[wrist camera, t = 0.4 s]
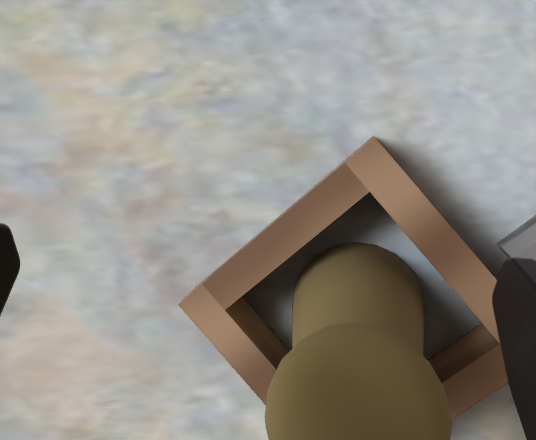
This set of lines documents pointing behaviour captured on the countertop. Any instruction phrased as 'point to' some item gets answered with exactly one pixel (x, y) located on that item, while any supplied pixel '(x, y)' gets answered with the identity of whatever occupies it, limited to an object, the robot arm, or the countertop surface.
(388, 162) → the pin holder
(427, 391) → the cork
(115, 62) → the countertop surface
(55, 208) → the countertop surface
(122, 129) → the countertop surface
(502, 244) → the tray
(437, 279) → the countertop surface
